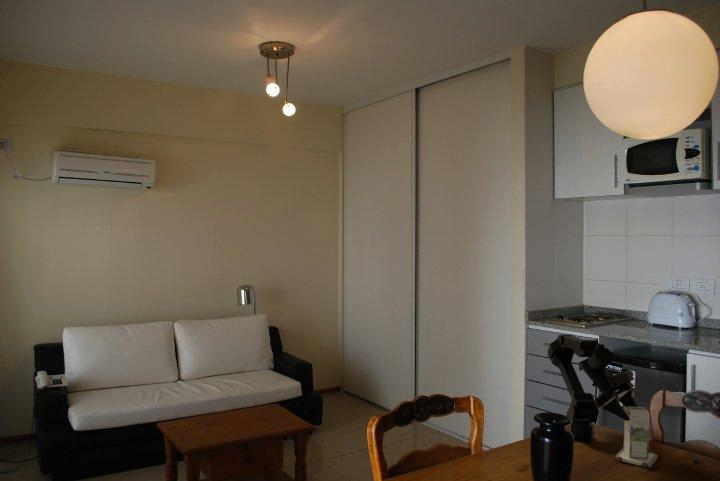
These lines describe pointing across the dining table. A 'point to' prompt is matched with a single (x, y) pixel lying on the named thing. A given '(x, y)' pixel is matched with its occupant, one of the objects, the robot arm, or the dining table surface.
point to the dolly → (636, 459)
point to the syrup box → (636, 432)
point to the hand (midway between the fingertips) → (634, 416)
